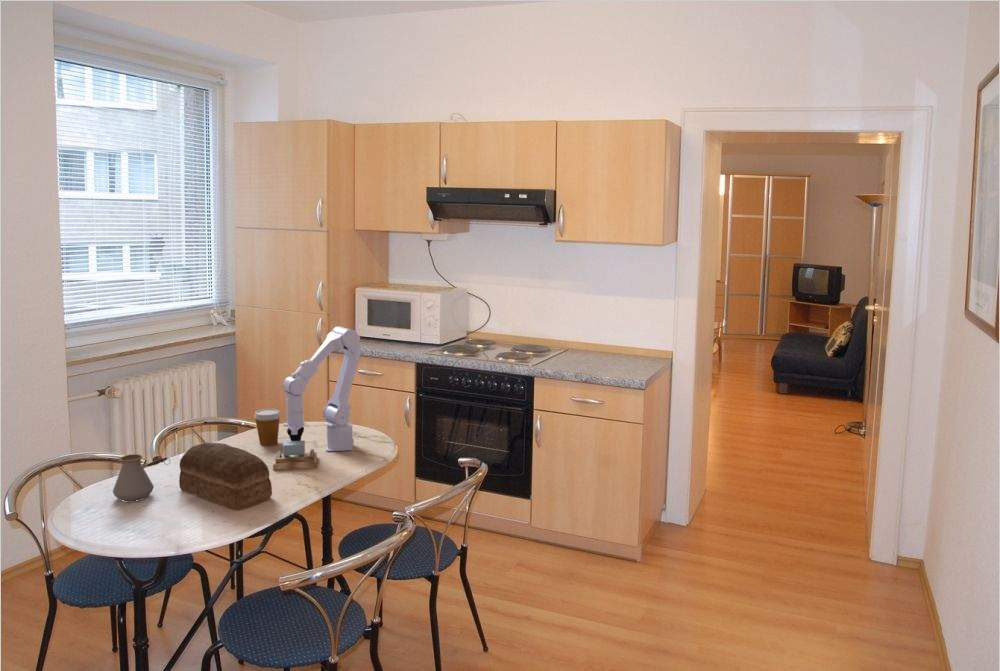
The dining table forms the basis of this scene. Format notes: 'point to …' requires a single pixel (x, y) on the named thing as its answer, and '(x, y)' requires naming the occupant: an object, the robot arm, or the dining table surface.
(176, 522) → the dining table surface
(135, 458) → the coffee pot
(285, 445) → the blue block with feet
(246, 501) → the bread
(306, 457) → the dock
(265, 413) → the disposable coffee cup
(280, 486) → the dining table surface
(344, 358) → the robot arm
